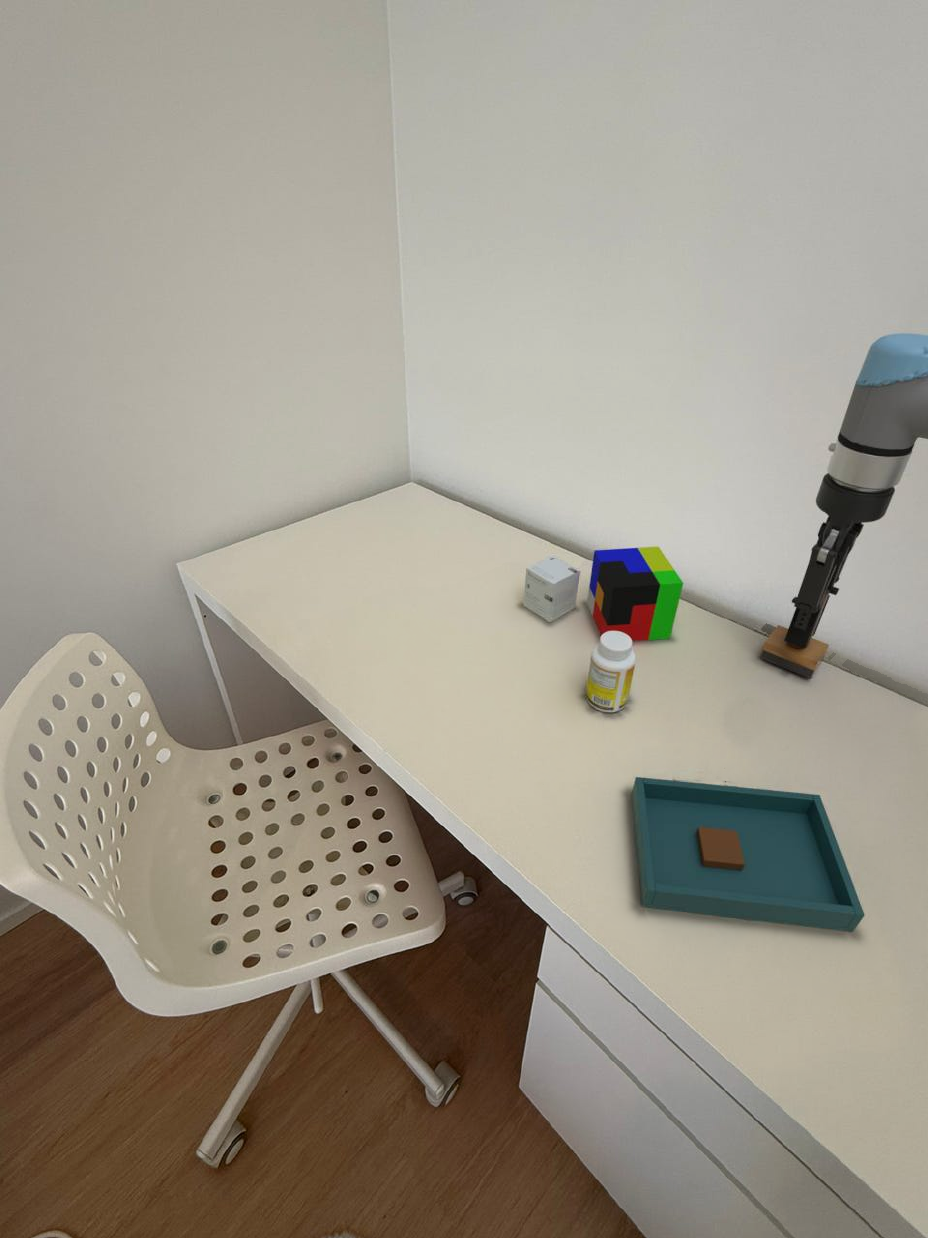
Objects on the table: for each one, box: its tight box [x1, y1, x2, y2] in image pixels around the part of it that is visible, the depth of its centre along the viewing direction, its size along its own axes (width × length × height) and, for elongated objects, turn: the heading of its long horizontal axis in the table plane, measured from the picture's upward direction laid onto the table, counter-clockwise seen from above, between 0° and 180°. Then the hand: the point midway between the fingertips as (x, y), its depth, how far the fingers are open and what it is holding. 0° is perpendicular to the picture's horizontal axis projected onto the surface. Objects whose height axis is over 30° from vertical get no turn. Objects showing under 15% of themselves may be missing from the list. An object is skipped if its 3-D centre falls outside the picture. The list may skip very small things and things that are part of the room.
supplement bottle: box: [585, 631, 637, 713], centre depth 83 cm, size 6×6×10 cm
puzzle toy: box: [586, 546, 684, 642], centre depth 97 cm, size 10×10×10 cm
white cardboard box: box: [522, 555, 581, 623], centre depth 101 cm, size 6×6×7 cm
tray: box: [631, 776, 866, 933], centre depth 67 cm, size 20×14×3 cm
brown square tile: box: [696, 827, 745, 871], centre depth 67 cm, size 4×4×1 cm
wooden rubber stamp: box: [759, 589, 830, 680], centre depth 88 cm, size 7×5×12 cm
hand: (799, 637), depth 89 cm, fingers closed on wooden rubber stamp, 3 cm apart
